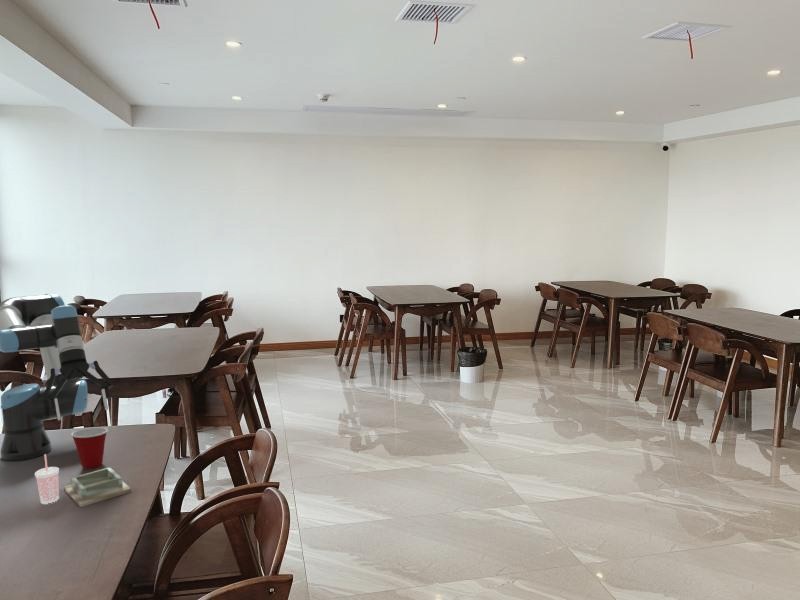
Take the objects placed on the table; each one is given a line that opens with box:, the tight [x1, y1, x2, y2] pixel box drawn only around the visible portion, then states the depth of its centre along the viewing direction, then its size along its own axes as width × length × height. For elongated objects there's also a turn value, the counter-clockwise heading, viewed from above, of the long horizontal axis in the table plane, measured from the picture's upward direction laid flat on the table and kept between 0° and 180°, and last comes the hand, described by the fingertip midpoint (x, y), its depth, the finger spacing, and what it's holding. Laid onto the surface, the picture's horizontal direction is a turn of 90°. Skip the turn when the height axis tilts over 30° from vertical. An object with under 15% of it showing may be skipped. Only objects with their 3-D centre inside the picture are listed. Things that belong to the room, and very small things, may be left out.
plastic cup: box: [70, 426, 109, 470], centre depth 201 cm, size 11×11×12 cm
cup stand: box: [63, 466, 132, 508], centre depth 183 cm, size 16×14×4 cm
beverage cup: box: [34, 453, 60, 505], centre depth 177 cm, size 6×6×14 cm
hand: (83, 414), depth 196 cm, fingers open, 13 cm apart
